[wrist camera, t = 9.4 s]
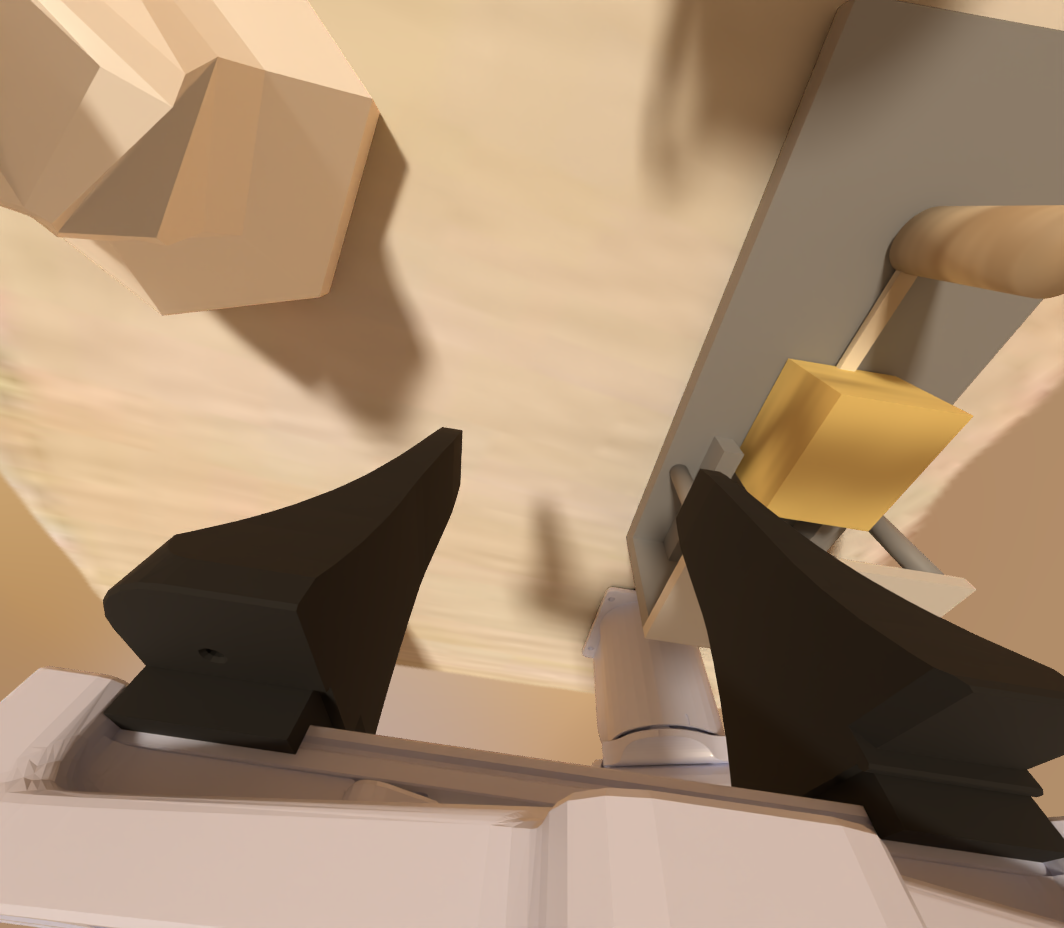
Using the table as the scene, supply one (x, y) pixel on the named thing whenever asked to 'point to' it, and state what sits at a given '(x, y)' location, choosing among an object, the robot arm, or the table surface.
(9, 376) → the table surface
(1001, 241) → the yellow block
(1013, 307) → the plate
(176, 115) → the cream faceted rock
